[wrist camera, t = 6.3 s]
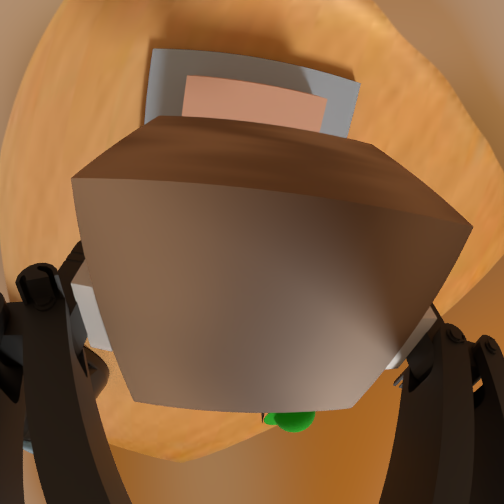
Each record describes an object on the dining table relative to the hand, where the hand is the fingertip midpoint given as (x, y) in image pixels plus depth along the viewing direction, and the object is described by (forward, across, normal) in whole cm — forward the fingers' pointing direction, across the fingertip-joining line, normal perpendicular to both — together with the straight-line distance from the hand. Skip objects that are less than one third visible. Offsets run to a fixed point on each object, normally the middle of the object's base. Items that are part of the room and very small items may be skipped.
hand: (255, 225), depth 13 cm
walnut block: (0, 0, 0) cm, 0 cm away
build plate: (+18, 0, 0) cm, 18 cm away
